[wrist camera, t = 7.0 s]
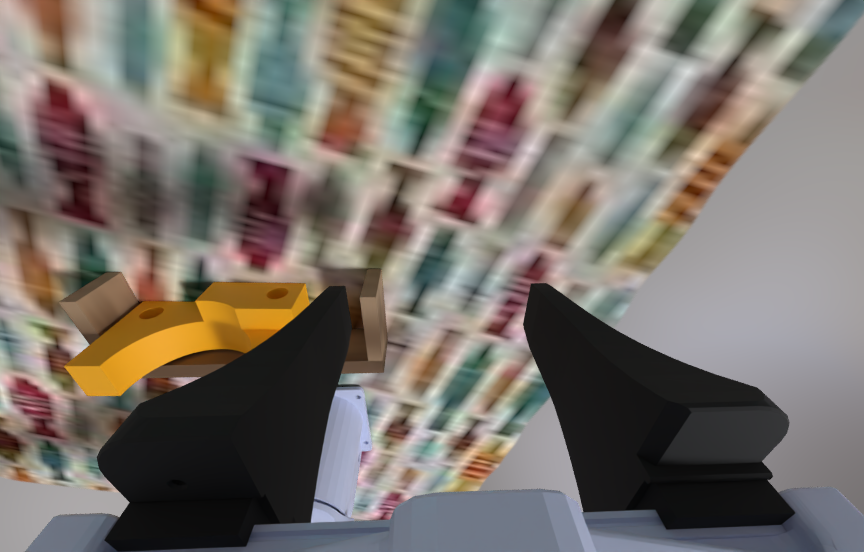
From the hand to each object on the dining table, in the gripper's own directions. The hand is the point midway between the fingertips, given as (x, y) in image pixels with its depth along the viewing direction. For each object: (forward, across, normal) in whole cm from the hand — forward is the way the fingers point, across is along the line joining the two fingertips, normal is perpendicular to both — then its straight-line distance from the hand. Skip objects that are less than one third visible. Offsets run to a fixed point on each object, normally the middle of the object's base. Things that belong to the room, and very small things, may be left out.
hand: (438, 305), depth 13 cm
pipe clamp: (+10, +15, +7) cm, 20 cm away
